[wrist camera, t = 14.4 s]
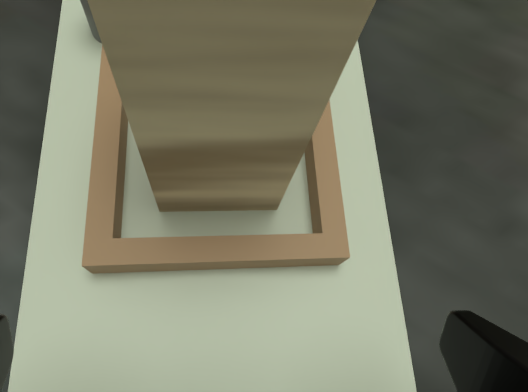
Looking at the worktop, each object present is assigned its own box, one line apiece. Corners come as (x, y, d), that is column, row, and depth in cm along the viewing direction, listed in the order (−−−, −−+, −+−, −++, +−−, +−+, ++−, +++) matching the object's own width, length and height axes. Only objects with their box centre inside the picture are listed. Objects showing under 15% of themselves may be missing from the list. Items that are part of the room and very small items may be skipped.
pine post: (276, 210, 18) (409, -70, 6) (159, 211, 18) (53, -99, 6) (269, 110, 20) (362, -259, 8) (162, 109, 19) (87, -298, 7)
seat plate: (409, 415, 17) (485, 438, 12) (11, 449, 15) (-77, 492, 10) (342, -5, 25) (373, -88, 20) (73, -19, 23) (38, -116, 18)
